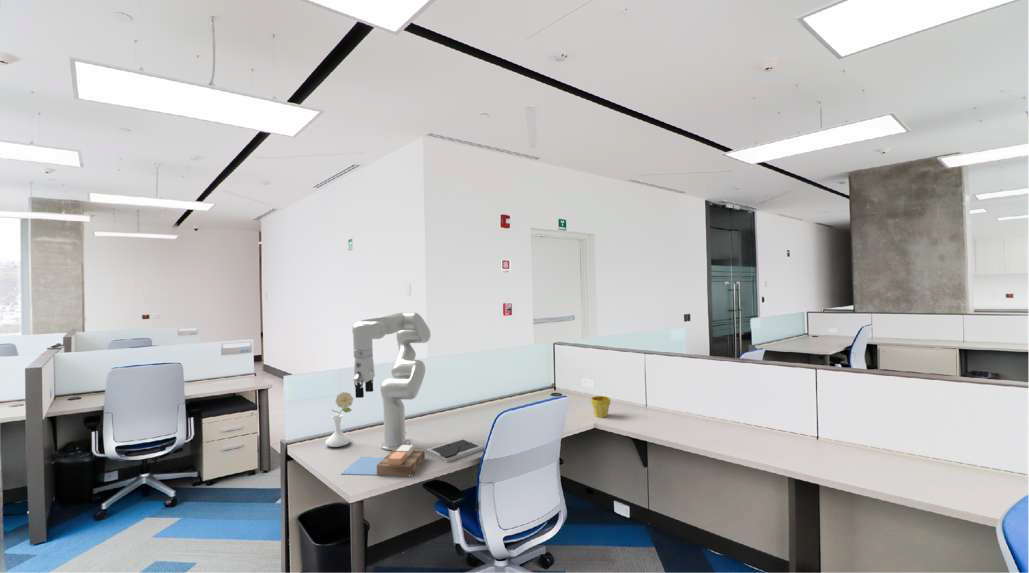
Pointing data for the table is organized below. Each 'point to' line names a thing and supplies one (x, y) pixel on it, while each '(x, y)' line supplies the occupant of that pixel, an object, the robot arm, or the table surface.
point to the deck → (405, 467)
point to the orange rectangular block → (397, 458)
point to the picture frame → (455, 449)
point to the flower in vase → (338, 436)
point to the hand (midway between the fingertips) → (364, 394)
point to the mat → (364, 466)
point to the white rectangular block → (405, 449)
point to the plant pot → (600, 405)
